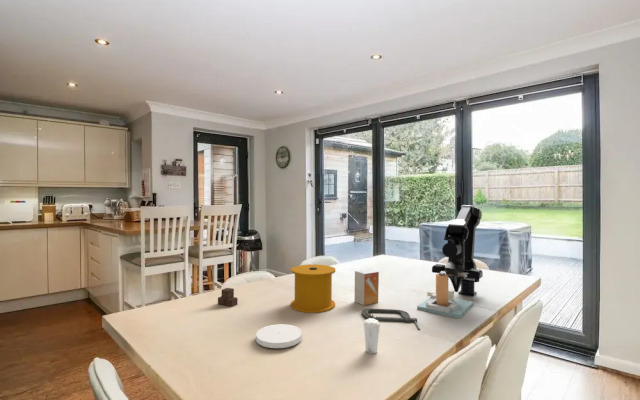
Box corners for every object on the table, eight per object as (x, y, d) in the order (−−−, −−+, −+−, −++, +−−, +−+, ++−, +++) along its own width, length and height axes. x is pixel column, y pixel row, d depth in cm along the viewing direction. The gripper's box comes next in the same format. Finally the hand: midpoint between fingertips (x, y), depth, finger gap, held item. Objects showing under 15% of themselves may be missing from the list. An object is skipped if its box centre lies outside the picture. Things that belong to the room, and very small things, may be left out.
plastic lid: (306, 348, 98) (306, 340, 98) (258, 354, 94) (258, 345, 94) (296, 329, 111) (296, 322, 111) (254, 334, 107) (254, 326, 107)
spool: (344, 305, 136) (344, 268, 136) (313, 316, 123) (313, 276, 122) (312, 295, 148) (312, 262, 148) (281, 305, 135) (281, 268, 135)
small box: (364, 306, 135) (364, 273, 134) (354, 301, 140) (354, 270, 140) (378, 302, 139) (379, 271, 139) (368, 298, 144) (368, 268, 144)
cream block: (429, 294, 146) (429, 285, 146) (453, 299, 140) (454, 290, 139) (426, 296, 144) (426, 287, 144) (451, 301, 137) (451, 291, 137)
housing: (434, 297, 147) (434, 290, 147) (473, 304, 137) (473, 297, 137) (417, 309, 131) (417, 301, 131) (459, 318, 121) (459, 310, 121)
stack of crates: (255, 302, 140) (255, 286, 140) (232, 313, 127) (232, 295, 127) (227, 297, 147) (227, 282, 146) (202, 307, 133) (202, 290, 133)
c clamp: (415, 313, 128) (415, 306, 128) (420, 331, 111) (420, 323, 111) (362, 310, 132) (362, 303, 132) (359, 326, 115) (359, 319, 115)
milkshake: (359, 348, 97) (359, 314, 97) (377, 347, 98) (377, 313, 98) (362, 355, 93) (362, 319, 93) (381, 354, 93) (381, 319, 93)
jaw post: (435, 304, 133) (435, 271, 133) (447, 305, 132) (447, 272, 132) (436, 308, 129) (436, 274, 128) (448, 309, 127) (449, 274, 127)
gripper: (427, 254, 137) (427, 292, 137) (476, 259, 125) (475, 301, 125) (436, 250, 145) (436, 286, 146) (483, 255, 134) (482, 294, 134)
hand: (456, 291), depth 137 cm, fingers closed
